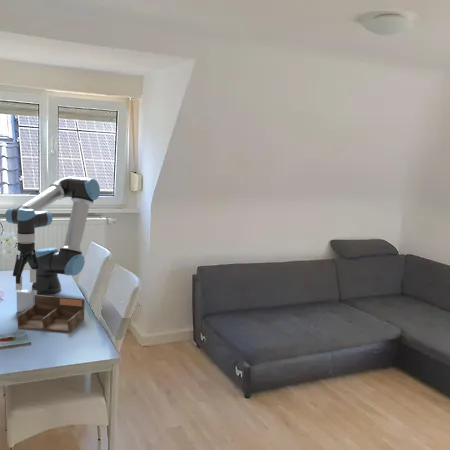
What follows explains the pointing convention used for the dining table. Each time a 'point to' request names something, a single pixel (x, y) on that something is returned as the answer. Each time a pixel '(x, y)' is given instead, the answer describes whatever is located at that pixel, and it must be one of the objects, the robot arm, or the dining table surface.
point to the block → (25, 299)
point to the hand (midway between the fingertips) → (26, 286)
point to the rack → (53, 314)
